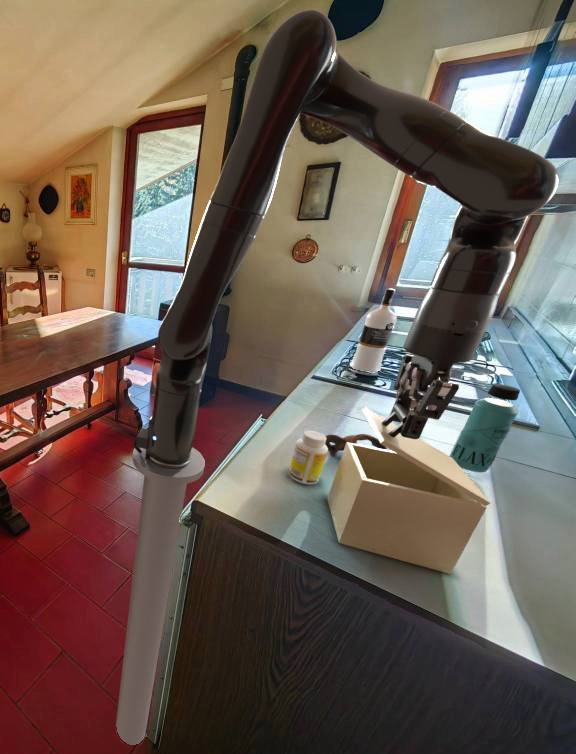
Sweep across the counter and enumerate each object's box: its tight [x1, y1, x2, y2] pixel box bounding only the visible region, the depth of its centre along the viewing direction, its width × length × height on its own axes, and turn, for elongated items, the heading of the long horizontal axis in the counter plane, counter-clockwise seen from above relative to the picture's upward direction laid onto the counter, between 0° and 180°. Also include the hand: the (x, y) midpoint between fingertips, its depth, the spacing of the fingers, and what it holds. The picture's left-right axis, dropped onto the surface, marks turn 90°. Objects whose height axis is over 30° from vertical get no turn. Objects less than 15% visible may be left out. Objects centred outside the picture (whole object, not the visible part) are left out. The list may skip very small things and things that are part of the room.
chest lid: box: [361, 403, 491, 507], centre depth 60 cm, size 15×13×5 cm
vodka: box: [348, 288, 398, 377], centre depth 136 cm, size 9×9×30 cm
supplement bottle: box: [288, 430, 329, 485], centre depth 80 cm, size 6×6×10 cm
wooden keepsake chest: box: [327, 442, 488, 575], centre depth 65 cm, size 15×13×13 cm
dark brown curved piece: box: [324, 433, 388, 458], centre depth 86 cm, size 12×10×8 cm
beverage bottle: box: [448, 383, 521, 473], centre depth 81 cm, size 6×7×20 cm
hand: (402, 428), depth 61 cm, fingers closed on chest lid, 5 cm apart
